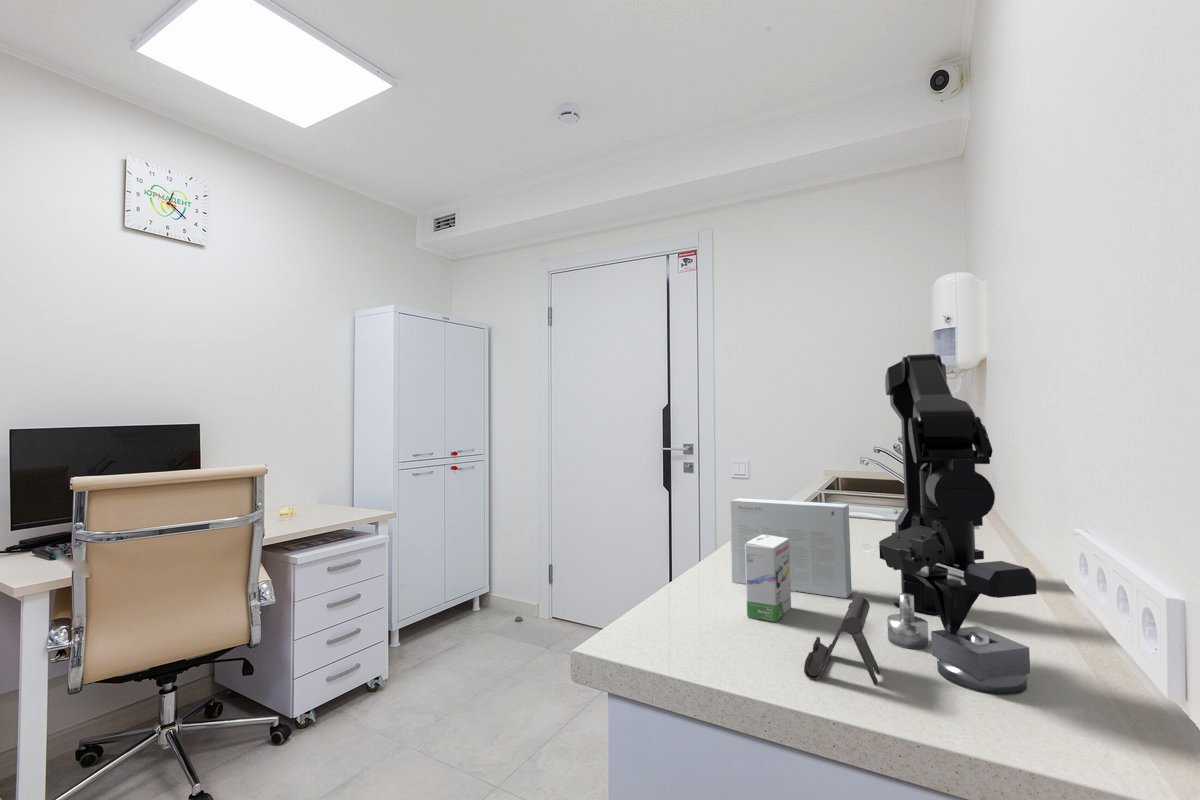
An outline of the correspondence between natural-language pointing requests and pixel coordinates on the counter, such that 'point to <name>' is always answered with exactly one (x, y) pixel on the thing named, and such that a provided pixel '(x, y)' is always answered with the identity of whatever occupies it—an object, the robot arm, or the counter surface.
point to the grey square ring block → (981, 653)
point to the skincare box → (797, 541)
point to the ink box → (768, 577)
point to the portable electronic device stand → (850, 625)
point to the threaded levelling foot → (907, 626)
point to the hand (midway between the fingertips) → (951, 632)
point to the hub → (990, 686)
